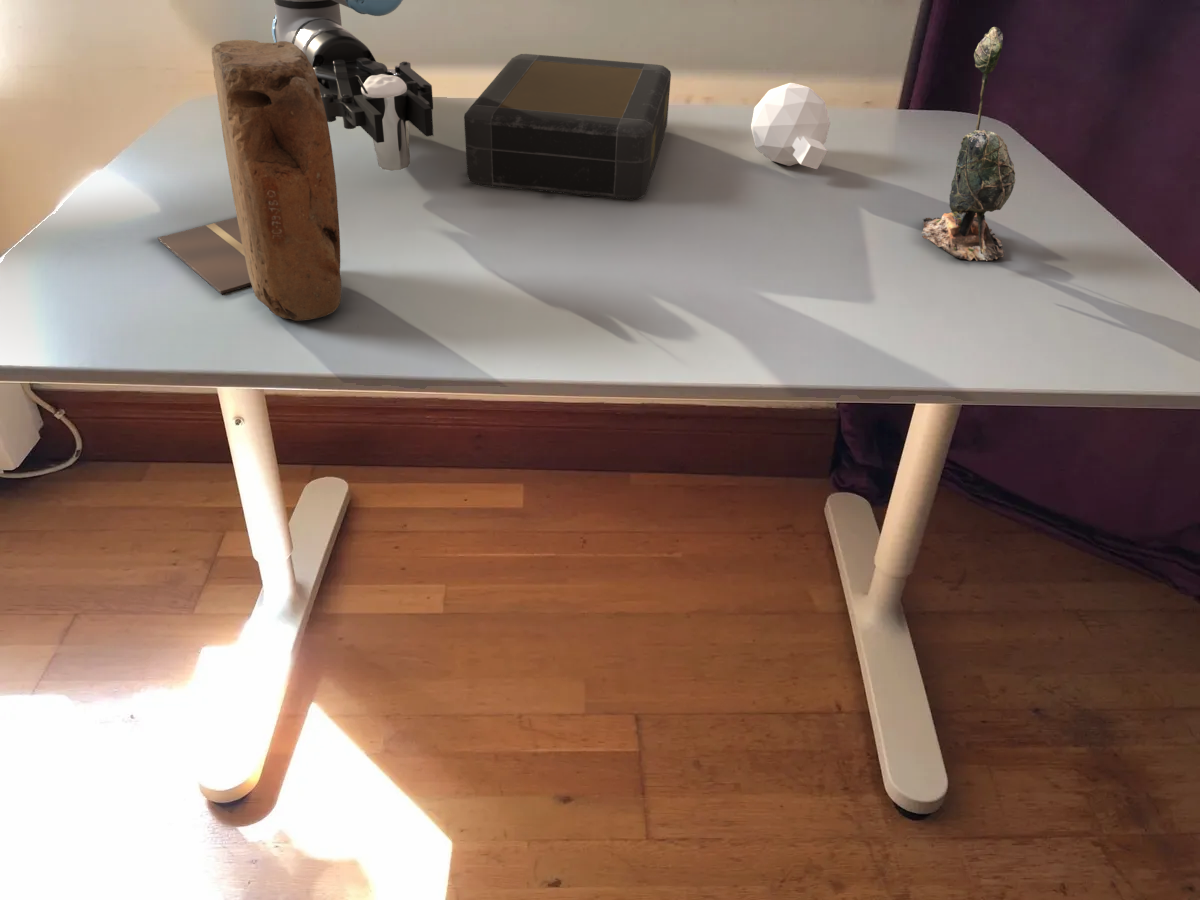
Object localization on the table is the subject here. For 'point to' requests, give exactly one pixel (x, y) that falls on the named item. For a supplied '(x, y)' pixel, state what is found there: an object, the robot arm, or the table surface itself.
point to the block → (281, 175)
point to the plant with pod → (976, 179)
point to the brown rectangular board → (213, 254)
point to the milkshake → (390, 119)
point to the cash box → (569, 126)
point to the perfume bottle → (791, 125)
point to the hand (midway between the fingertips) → (404, 125)
